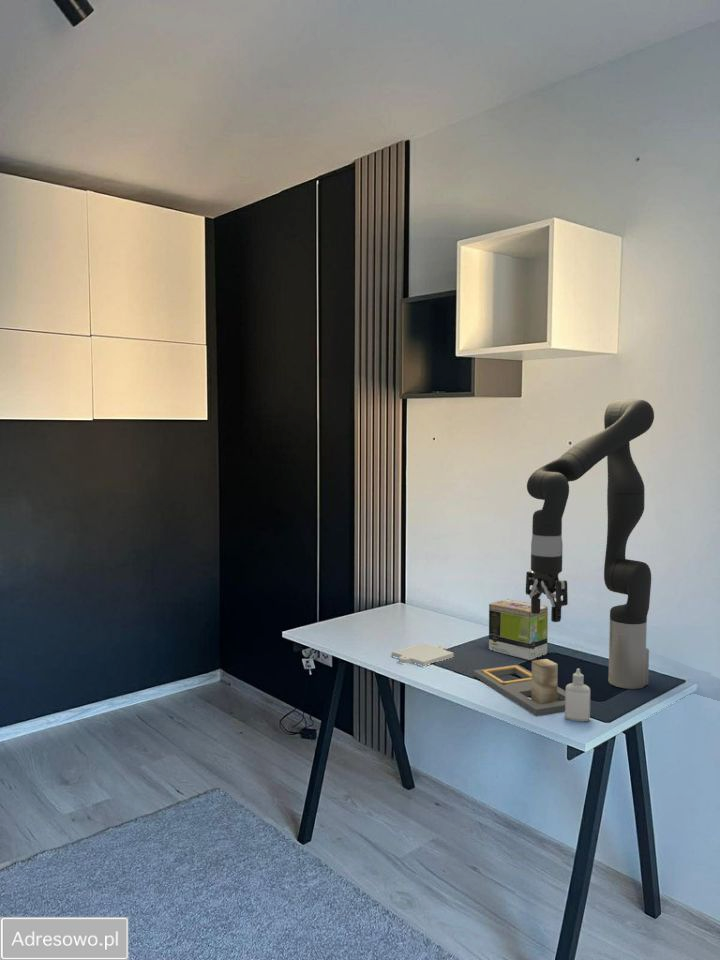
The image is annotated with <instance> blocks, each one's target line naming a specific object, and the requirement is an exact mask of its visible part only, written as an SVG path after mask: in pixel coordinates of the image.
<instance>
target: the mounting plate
mask: <svg viewBox="0 0 720 960" xmlns="http://www.w3.org/2000/svg"><path fill="white" fill-rule="evenodd" d="M454 655H455V654H454V652H452V651H449V650H446V646H443V645H435V646H434V645H430V644H426V643H422V642H421V643H418V644H415V645H411V646H408V647H404V648H401V649H398V650H393V651H391V657H392V656H395V657H398V658H399V659H398V663H399V662H401V663H416V664H420V665H422V666H425V665H428V664H431V663H434V662H439V661H442V662H444V661H443V660H445V661H447V660H446V659H448V660H450V659H449V658H451V659H453V658H452V657H454ZM439 663H440V662H439Z"/></svg>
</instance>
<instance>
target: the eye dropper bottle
mask: <svg viewBox="0 0 720 960" xmlns="http://www.w3.org/2000/svg"><path fill="white" fill-rule="evenodd" d="M584 676H585V675H584V674H582V673H581V668H576V671H575V672H574V673H572V682H571V683H568V684H566V686H565V711H564V717H565V719H567V720H569V721H574V722H581V723H583V722H584V723H585V722H589V721H590V719H591V688H590V686H588V685H587V684H585V683H584Z"/></svg>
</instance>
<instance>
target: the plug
mask: <svg viewBox="0 0 720 960" xmlns="http://www.w3.org/2000/svg"><path fill="white" fill-rule="evenodd" d="M558 665H559V664H558V663H556V662H554V661H552V660H550V659H548V658H544V659H533V660H531V672H532V680H531V696H530V697H531V698H530V699H531V700H533V701H534V702H536V703H538V704H545V703H552V702H558V698H557V686H558V672H559V671H558V670H559V669H558Z"/></svg>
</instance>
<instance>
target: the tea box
mask: <svg viewBox="0 0 720 960" xmlns="http://www.w3.org/2000/svg"><path fill="white" fill-rule="evenodd" d="M548 607H549V606H547V605H541V604H540V613H539V614H533V613H531V602H525V601H521V600H513V599H509V598H506V599H502V600H499V601H496V602H491V603H489V604H488V650H489V649H490V650H489V651H492V650H493V651H492V652H496V653H500V654H505V655H508V656H512V657H516V658H519V659H524V660H527V661H533V660H536V659H537V657H538V658H540V657H542V655H543V656H546V655H548V654H547V653H548V633H549V631H548V628H549V627H548V625H549V623H548V620H549V618H548V617H549V612H548V610H549V609H548Z"/></svg>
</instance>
